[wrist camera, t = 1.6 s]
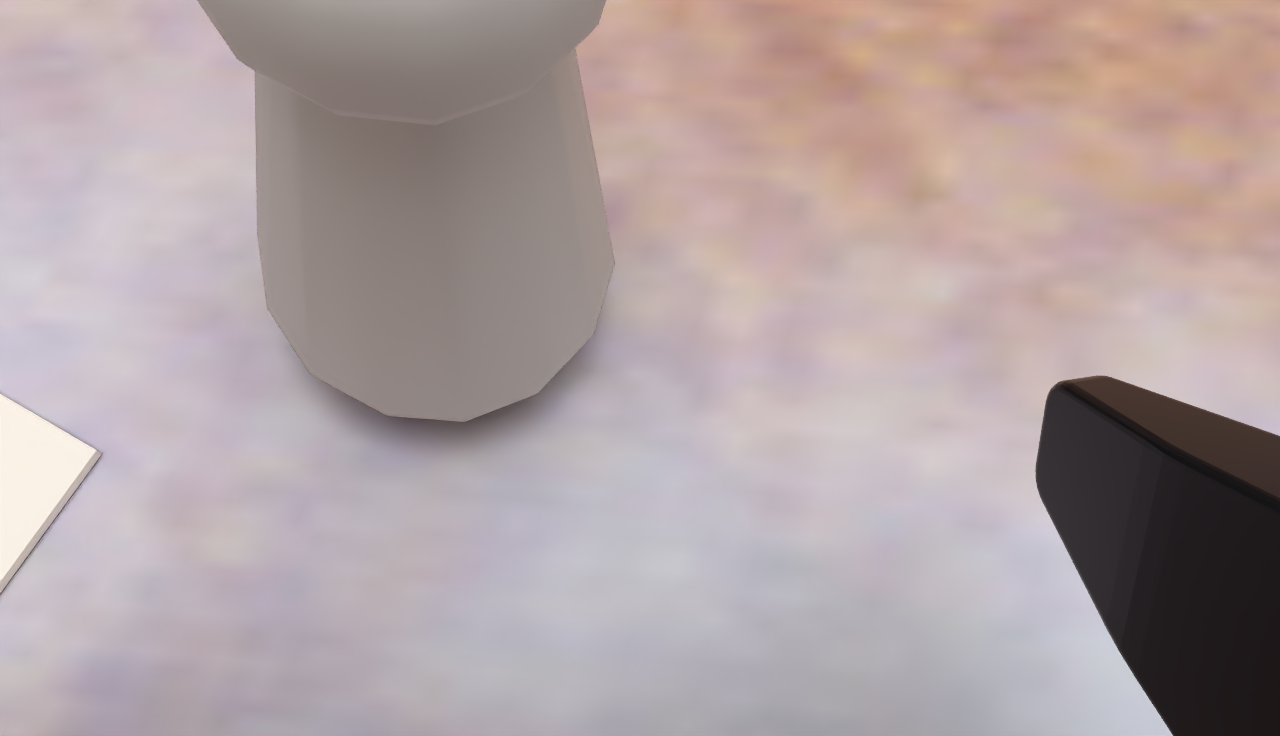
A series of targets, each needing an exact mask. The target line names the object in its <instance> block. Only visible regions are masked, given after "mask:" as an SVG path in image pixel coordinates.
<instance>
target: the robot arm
mask: <svg viewBox="0 0 1280 736" xmlns="http://www.w3.org/2000/svg"><path fill="white" fill-rule="evenodd" d="M1036 483H1037V488H1038V491H1039V494H1040V497H1041V499H1042V502H1043V504H1044V506H1045V508H1046V510H1047V512H1048V514H1049V516H1050V517H1051V519H1052V521H1053V523H1054V525H1055V527H1056V529H1057V531H1058V533H1059V535H1060V537H1061V539H1062V541H1063V543H1064V545H1065V547H1066V549H1067V551H1068V553H1069V555H1070V557H1071V559H1072V561H1073V563H1074V565H1075V567H1076V569H1077V571H1078V573H1079V575H1080V577H1081V579H1082V581H1083V583H1084V585H1085V587H1086V589H1087V591H1088V593H1089V595H1090V597H1091V599H1092V601H1093V603H1094V605H1095V607H1096V608H1097V610H1098V612H1099V614H1100V616H1101V618H1102V620H1103V622H1104V624H1105V626H1106V628H1107V630H1108V632H1109V634H1110V635H1111V637H1112V639H1113V641H1114V643H1115V644H1116V646H1117V648H1118V650H1119V652H1120V653H1121V655H1122V657H1123V658H1124V660H1125V661H1126V663H1127V665H1128V666H1129V668H1130V670H1131V671H1132V673H1133V674H1134V676H1135V678H1136V679H1137V681H1138V682H1139V684H1140V685H1141V687H1142V688H1143V690H1144V692H1145V693H1146V695H1147V696H1148V698H1149V699H1150V701H1151V702H1152V704H1153V705H1154V707H1155V708H1156V710H1157V711H1158V713H1159V715H1160V716H1161V718H1162V719H1163V721H1164V722H1165V724H1166V725H1167V727H1168V728H1169V730H1170V731H1171V733H1172V734H1173V736H1280V436H1278V435H1275V434H1272V433H1270V432H1267V431H1264V430H1261V429H1258V428H1255V427H1252V426H1249V425H1247V424H1244V423H1241V422H1238V421H1235V420H1232V419H1229V418H1226V417H1224V416H1221V415H1218V414H1215V413H1212V412H1209V411H1206V410H1203V409H1201V408H1198V407H1195V406H1192V405H1189V404H1186V403H1183V402H1180V401H1178V400H1175V399H1172V398H1169V397H1166V396H1163V395H1160V394H1158V393H1155V392H1152V391H1149V390H1146V389H1143V388H1140V387H1137V386H1135V385H1132V384H1129V383H1126V382H1123V381H1120V380H1117V379H1114V378H1112V377H1108V376H1092V377H1085V378H1078V379H1072V380H1065V381H1060V382H1058V383H1057V384H1056V385H1054V386H1053V387H1052V388H1051V390H1050V392H1049V394H1048V396H1047V400H1046V404H1045V411H1044V417H1043V423H1042V430H1041V436H1040V442H1039V449H1038V455H1037V461H1036Z"/></svg>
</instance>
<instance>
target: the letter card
mask: <svg viewBox="0 0 1280 736" xmlns="http://www.w3.org/2000/svg"><path fill="white" fill-rule="evenodd" d="M101 455H102V453H100V452H99V451H97V450H95V449H94V448H92V447H90V446H88V445H87V444H85V443H83V442H82V441H80V440H78V439H77V438H75V437H73V436H71V435H70V434H68V433H66V432H65V431H63V430H61V429H59V428H58V427H56V426H54V425H53V424H51V423H49V422H47V421H46V420H44V419H42V418H41V417H39V416H37V415H36V414H34V413H32V412H30V411H29V410H27V409H25V408H24V407H22V406H20V405H18V404H17V403H15V402H13V401H12V400H10V399H8V398H6V397H5V396H3V395H1V394H0V593H1V592H2V590H3V589H4V588H5V586H6V585H7V583H8V582H9V581H10V579H11V578H12V577H13V575H14V574H15V572H16V571H17V570H18V568H19V567H20V566H21V564H22V563H23V561H24V560H25V559H26V557H27V556H28V555H29V553H30V552H31V551H32V549H33V548H34V546H35V545H36V544H37V542H38V541H39V540H40V538H41V537H42V535H43V534H44V533H45V531H46V530H47V529H48V527H49V526H50V524H51V523H52V522H53V520H54V519H55V518H56V516H57V515H58V513H59V512H60V511H61V509H62V508H63V507H64V505H65V504H66V503H67V501H68V500H69V498H70V497H71V496H72V494H73V493H74V492H75V490H76V489H77V487H78V486H79V485H80V483H81V482H82V481H83V479H84V478H85V476H86V475H87V474H88V472H89V471H90V470H91V468H92V467H93V465H94V464H95V463H96V461H97V460H98V459H99V457H100V456H101Z"/></svg>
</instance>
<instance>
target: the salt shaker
mask: <svg viewBox="0 0 1280 736" xmlns="http://www.w3.org/2000/svg"><path fill="white" fill-rule="evenodd" d="M197 1H198V2H199V4H200V5H201V7H202V8H203V10H204V11H205V13H206V14H207V16H208V17H209V18H210V20H211V21H212V23H213V24H214V26H215V27H216V29H217V30H218V32H219V33H220V35H221V36H222V37H223V39H224V40H225V42H226V43H227V45H228V46H229V48H230V49H231V51H232V52H233V53H234V55H235V56H236V58H237V59H238V60H239V61H241V62H242V63H244V64H245V65H247V66H248V67H250V68H251V69H253V70H254V71H255V121H256V183H257V235H258V242H259V250H260V258H261V265H262V273H263V280H264V288H265V296H266V303H267V309H268V310H269V312H270V314H271V315H272V317H273V318H274V320H275V321H276V323H277V324H278V326H279V327H280V329H281V330H282V332H283V333H284V335H285V336H286V338H287V340H288V341H289V343H290V344H291V346H292V347H293V349H294V350H295V352H296V353H297V355H298V356H299V358H300V359H301V361H302V362H303V364H304V366H305V367H306V369H307V370H308V372H309V373H310V374H312V375H313V376H315V377H316V378H318V379H320V380H322V381H324V382H325V383H327V384H329V385H331V386H333V387H335V388H337V389H338V390H340V391H342V392H344V393H346V394H348V395H349V396H351V397H353V398H355V399H357V400H359V401H361V402H362V403H364V404H366V405H368V406H370V407H372V408H374V409H375V410H377V411H379V412H381V413H383V414H385V415H386V416H394V417H407V418H421V419H434V420H447V421H461V422H466V421H468V420H471V419H473V418H476V417H479V416H481V415H484V414H486V413H489V412H492V411H494V410H497V409H499V408H502V407H505V406H507V405H510V404H512V403H515V402H518V401H520V400H523V399H525V398H528V397H531V396H533V395H536V394H538V392H539V391H540V390H541V389H542V388H543V387H544V386H545V385H546V384H547V383H548V382H549V381H550V380H551V379H552V378H553V377H554V376H555V375H556V374H557V373H558V372H559V370H560V369H561V368H562V367H563V366H564V365H565V364H566V363H567V362H568V361H569V360H570V359H571V358H572V357H573V356H574V355H575V354H576V353H577V352H578V351H579V349H580V348H581V347H582V346H583V345H584V344H585V343H586V342H587V341H588V340H589V339H590V337H591V336H592V335H593V334H594V331H595V328H596V324H597V321H598V318H599V314H600V311H601V308H602V304H603V301H604V297H605V294H606V291H607V287H608V284H609V281H610V277H611V274H612V271H613V267H614V264H615V262H614V256H613V251H612V245H611V240H610V234H609V229H608V223H607V218H606V212H605V206H604V201H603V195H602V190H601V185H600V179H599V174H598V168H597V163H596V158H595V152H594V147H593V142H592V136H591V131H590V125H589V120H588V115H587V109H586V104H585V98H584V93H583V88H582V82H581V77H580V71H579V66H578V61H577V55H576V50H575V48H576V47H577V46H578V45H579V44H580V43H581V42H582V41H583V40H584V39H585V38H586V37H587V36H588V35H589V34H590V33H591V32H592V31H593V30H594V29H595V27H596V26H597V25H598V24H599V21H600V18H601V14H602V11H603V8H604V5H605V2H606V0H197Z"/></svg>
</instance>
